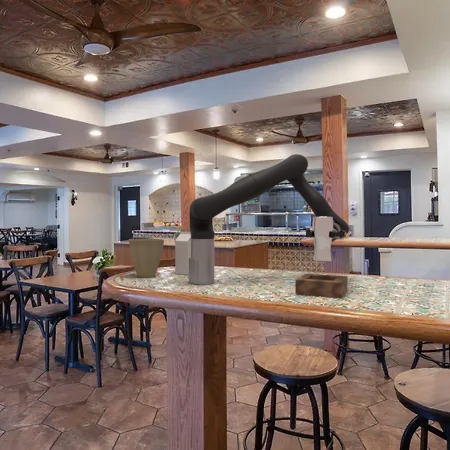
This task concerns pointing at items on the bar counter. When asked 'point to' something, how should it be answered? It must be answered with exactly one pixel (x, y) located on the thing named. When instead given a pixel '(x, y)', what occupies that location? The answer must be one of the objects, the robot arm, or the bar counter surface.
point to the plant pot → (146, 256)
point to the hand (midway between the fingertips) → (321, 234)
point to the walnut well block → (321, 285)
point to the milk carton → (182, 253)
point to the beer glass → (322, 238)
